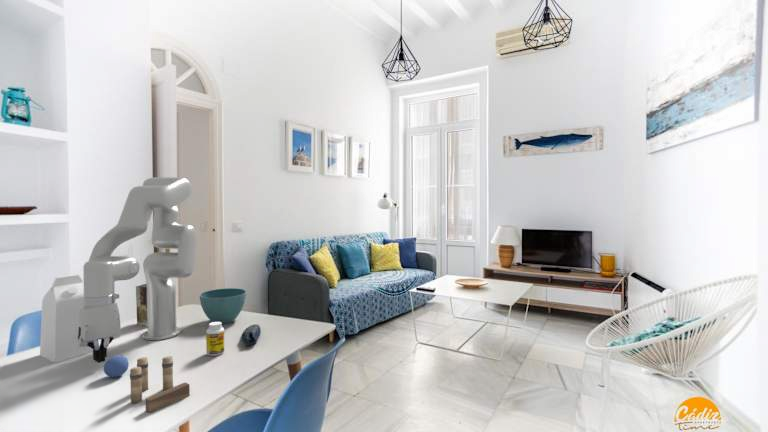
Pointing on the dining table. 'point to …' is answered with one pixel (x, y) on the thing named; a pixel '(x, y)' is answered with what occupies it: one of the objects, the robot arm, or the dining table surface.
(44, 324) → the milk
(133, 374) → the back right pin
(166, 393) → the back wall
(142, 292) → the coffee box
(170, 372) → the back left pin
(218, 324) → the supplement bottle
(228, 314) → the teal bowl
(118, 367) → the ball
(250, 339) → the fish model
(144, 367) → the front pin
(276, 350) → the dining table surface
